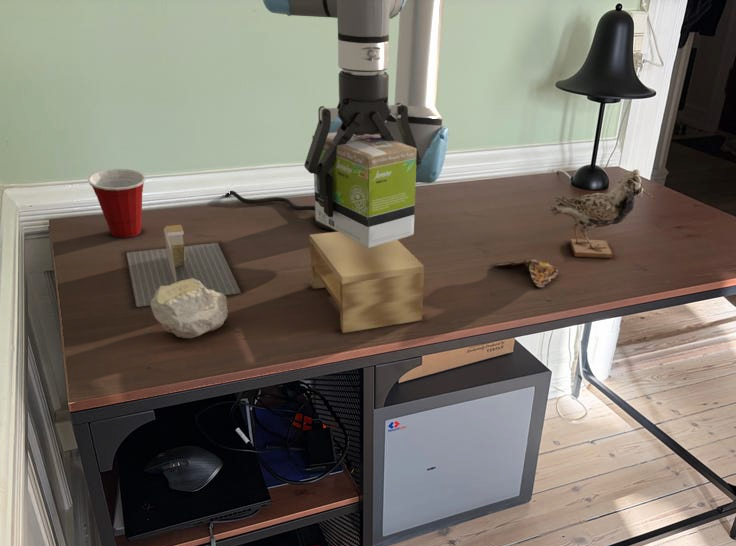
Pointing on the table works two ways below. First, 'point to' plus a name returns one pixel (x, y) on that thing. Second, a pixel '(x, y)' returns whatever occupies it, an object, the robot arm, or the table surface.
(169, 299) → the white rock
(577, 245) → the stuffed bird
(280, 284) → the table surface
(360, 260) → the birch shelf
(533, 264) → the butterfly model
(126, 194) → the plastic cup
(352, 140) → the tea box
